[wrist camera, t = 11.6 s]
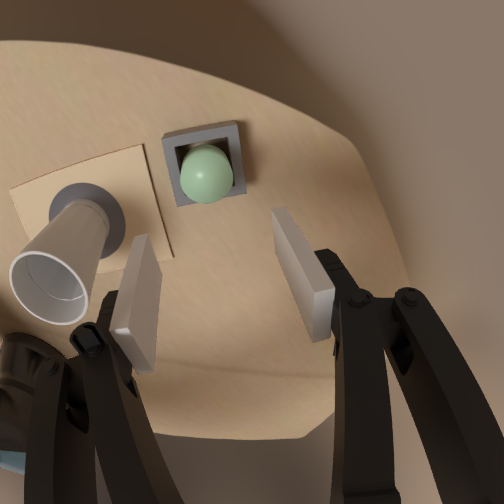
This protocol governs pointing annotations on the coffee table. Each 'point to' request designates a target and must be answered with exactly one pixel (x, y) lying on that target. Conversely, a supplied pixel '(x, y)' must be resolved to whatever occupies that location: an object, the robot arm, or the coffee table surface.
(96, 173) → the sheet
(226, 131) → the button housing
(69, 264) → the cup
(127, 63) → the coffee table surface
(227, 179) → the button
